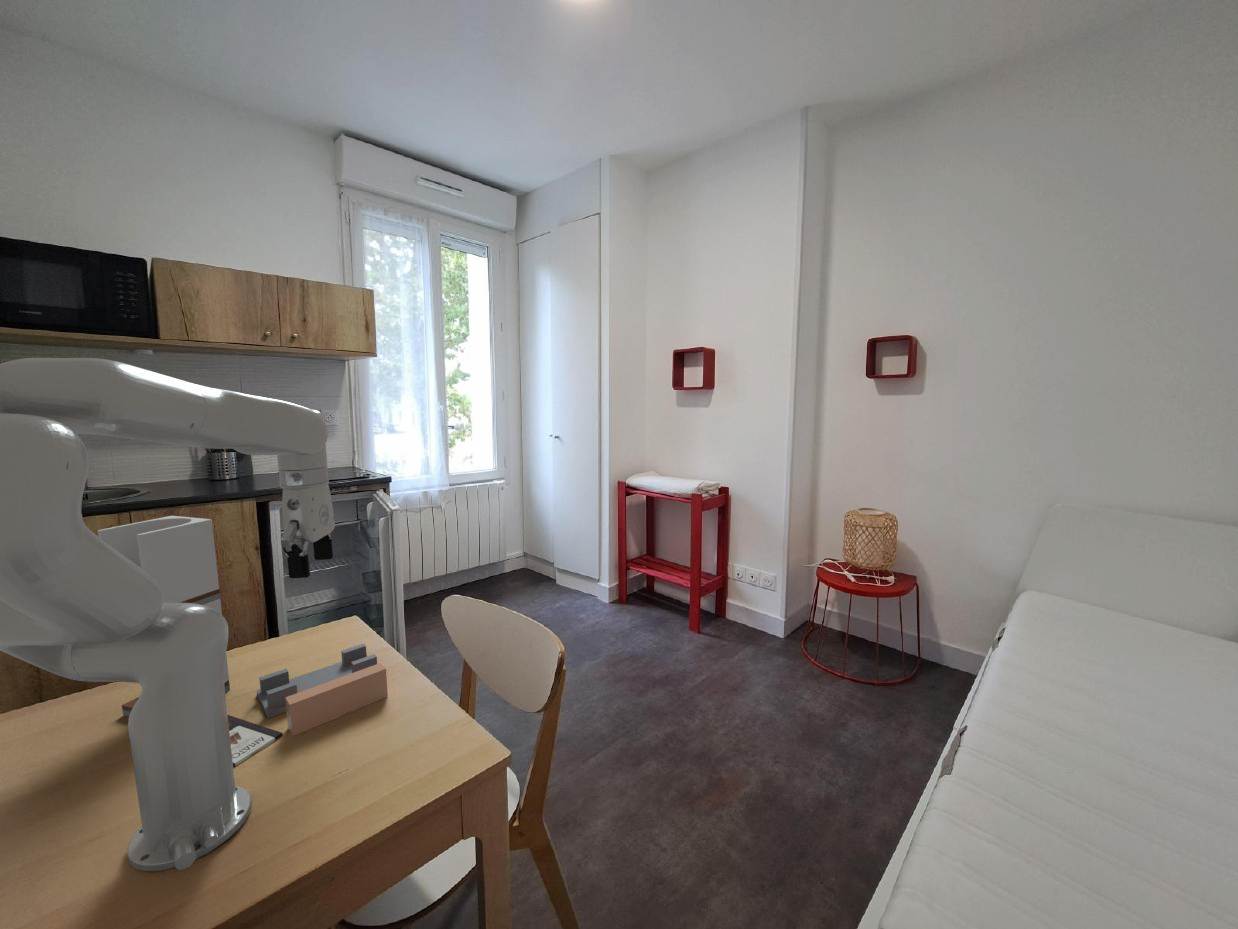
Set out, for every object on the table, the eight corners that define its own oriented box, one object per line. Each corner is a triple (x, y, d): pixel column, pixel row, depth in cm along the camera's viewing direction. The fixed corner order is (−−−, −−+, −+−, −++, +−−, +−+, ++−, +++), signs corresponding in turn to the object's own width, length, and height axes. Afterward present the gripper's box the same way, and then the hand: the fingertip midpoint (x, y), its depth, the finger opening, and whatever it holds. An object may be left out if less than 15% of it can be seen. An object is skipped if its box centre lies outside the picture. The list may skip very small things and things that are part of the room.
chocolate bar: (213, 710, 91) (282, 732, 85) (214, 715, 91) (282, 737, 85) (154, 741, 83) (226, 769, 77) (155, 746, 83) (226, 774, 77)
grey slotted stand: (382, 675, 104) (381, 657, 103) (267, 718, 90) (265, 698, 89) (365, 658, 111) (364, 641, 110) (257, 695, 97) (255, 676, 96)
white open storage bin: (191, 681, 101) (171, 515, 97) (230, 689, 99) (211, 519, 94) (123, 715, 90) (97, 530, 86) (164, 725, 88) (140, 534, 83)
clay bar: (387, 697, 97) (386, 668, 96) (292, 737, 85) (289, 704, 84) (381, 691, 99) (380, 663, 98) (288, 728, 87) (285, 697, 86)
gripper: (304, 485, 82) (312, 584, 84) (345, 469, 98) (351, 552, 101) (254, 486, 80) (264, 586, 83) (304, 470, 97) (312, 554, 100)
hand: (312, 567), depth 92 cm, fingers open, 9 cm apart
